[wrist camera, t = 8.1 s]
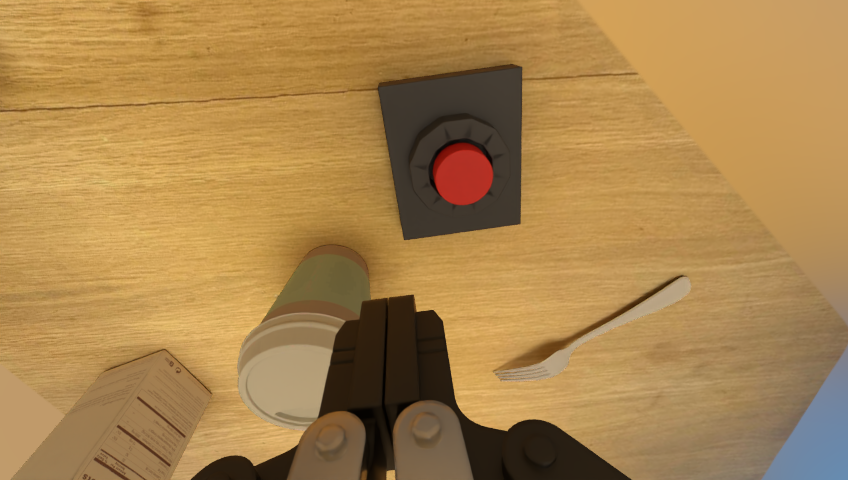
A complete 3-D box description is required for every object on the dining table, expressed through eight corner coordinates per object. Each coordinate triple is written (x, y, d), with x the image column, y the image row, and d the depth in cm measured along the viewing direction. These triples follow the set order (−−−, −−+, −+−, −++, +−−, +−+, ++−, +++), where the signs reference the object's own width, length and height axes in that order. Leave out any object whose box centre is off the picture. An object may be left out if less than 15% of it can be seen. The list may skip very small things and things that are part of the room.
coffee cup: (272, 295, 32) (214, 421, 22) (298, 214, 29) (243, 318, 18) (365, 322, 34) (351, 447, 24) (399, 249, 31) (402, 360, 20)
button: (429, 146, 23) (432, 154, 22) (486, 138, 23) (492, 145, 22) (435, 198, 25) (438, 209, 23) (488, 191, 25) (494, 201, 23)
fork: (673, 277, 37) (695, 292, 35) (502, 383, 40) (512, 403, 38) (666, 258, 36) (688, 272, 34) (490, 369, 39) (499, 389, 36)
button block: (379, 82, 24) (376, 90, 21) (512, 64, 24) (532, 69, 21) (403, 227, 30) (404, 252, 26) (512, 212, 30) (528, 235, 26)
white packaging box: (154, 414, 39) (59, 565, 28) (101, 370, 35) (-33, 522, 24) (215, 394, 38) (142, 542, 27) (167, 347, 34) (59, 494, 23)
